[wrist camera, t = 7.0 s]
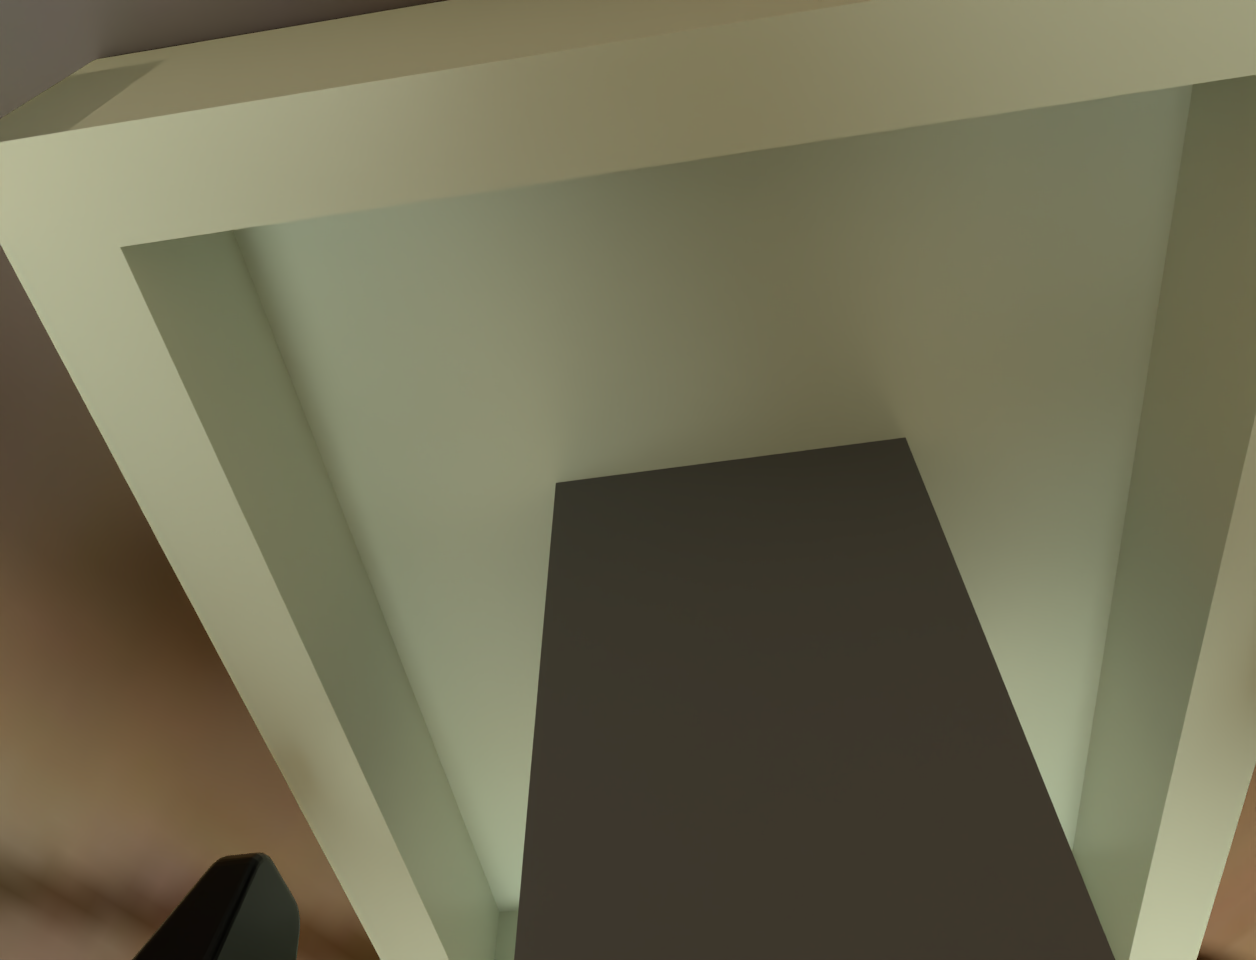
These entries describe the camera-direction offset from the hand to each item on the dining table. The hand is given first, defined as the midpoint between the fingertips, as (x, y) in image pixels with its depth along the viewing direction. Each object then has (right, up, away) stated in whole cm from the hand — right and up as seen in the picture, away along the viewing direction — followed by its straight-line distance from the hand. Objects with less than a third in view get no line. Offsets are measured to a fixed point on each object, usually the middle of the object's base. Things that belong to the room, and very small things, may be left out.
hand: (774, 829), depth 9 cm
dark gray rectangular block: (0, +2, +2) cm, 3 cm away
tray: (0, +2, +3) cm, 4 cm away
